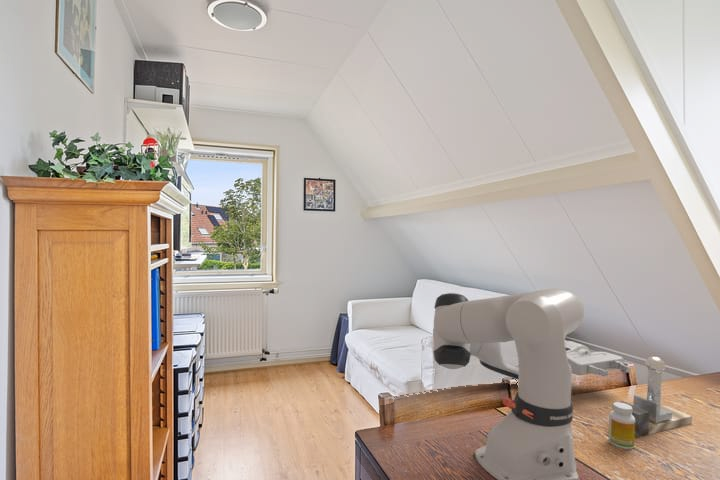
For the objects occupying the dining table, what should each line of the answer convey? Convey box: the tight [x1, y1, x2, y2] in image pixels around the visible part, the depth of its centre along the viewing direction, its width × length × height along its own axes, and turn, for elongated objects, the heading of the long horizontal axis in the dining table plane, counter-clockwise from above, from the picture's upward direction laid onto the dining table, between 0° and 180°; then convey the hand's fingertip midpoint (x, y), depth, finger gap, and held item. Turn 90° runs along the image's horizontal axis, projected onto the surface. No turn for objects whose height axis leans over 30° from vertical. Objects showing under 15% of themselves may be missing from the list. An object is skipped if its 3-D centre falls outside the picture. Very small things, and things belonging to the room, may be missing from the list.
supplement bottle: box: [608, 401, 636, 450], centre depth 99 cm, size 5×5×10 cm
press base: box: [612, 400, 693, 438], centre depth 109 cm, size 22×7×6 cm, turn 111°
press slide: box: [632, 355, 672, 423], centre depth 109 cm, size 7×6×16 cm
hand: (617, 371), depth 119 cm, fingers open, 8 cm apart
